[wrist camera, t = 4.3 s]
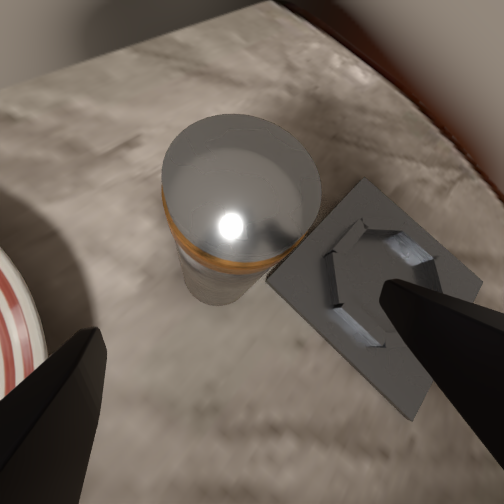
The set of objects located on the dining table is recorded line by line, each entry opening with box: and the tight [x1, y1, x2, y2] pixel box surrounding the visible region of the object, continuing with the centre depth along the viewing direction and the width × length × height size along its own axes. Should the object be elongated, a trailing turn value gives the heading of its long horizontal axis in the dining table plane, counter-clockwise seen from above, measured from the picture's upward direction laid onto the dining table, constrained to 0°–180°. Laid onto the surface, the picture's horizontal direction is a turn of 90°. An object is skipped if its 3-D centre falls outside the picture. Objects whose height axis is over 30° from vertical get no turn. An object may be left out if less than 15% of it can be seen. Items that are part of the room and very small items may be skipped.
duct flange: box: [265, 177, 483, 421], centre depth 21 cm, size 14×14×2 cm
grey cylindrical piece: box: [162, 114, 322, 306], centre depth 14 cm, size 5×5×12 cm
